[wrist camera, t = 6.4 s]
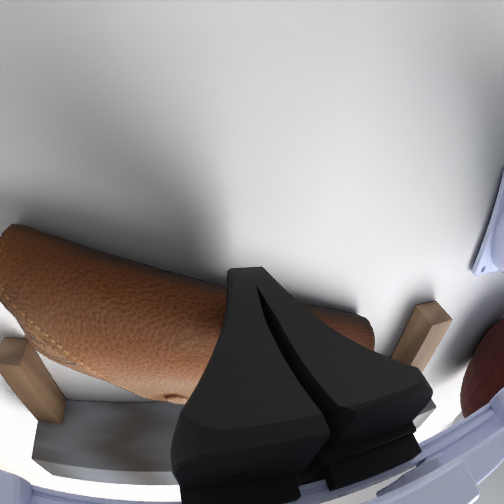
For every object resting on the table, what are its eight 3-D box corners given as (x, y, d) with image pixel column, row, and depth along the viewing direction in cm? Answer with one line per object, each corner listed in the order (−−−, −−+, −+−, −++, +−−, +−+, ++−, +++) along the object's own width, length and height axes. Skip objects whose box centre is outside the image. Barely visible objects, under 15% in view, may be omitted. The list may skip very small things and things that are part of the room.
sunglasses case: (20, 348, 13) (-25, 397, 7) (40, 228, 14) (-10, 216, 7) (293, 398, 20) (353, 443, 13) (321, 302, 20) (394, 321, 14)
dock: (435, 300, 18) (478, 350, 13) (392, 382, 22) (418, 427, 18) (4, 337, 12) (-23, 406, 8) (60, 418, 17) (52, 474, 13)
